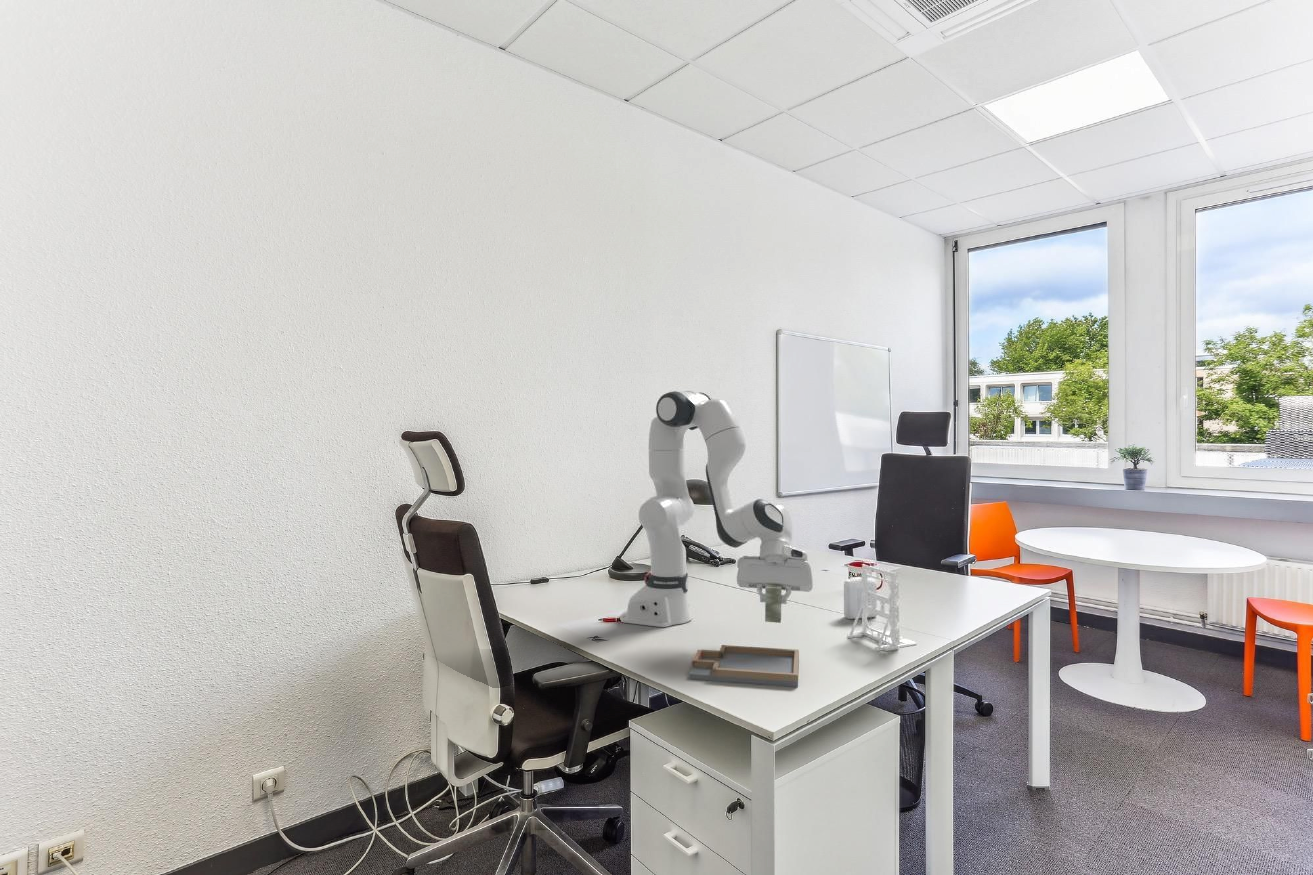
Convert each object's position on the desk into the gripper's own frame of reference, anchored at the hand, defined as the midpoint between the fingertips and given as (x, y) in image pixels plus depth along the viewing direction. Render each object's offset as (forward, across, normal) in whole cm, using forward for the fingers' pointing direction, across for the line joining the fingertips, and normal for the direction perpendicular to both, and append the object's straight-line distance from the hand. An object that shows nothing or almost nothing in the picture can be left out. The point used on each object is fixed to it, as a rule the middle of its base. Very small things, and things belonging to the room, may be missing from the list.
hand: (773, 602), depth 166 cm
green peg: (+3, 0, +4) cm, 5 cm away
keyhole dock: (+19, -5, -1) cm, 20 cm away
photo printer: (-16, +25, +34) cm, 45 cm away
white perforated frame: (-1, +29, +18) cm, 34 cm away
